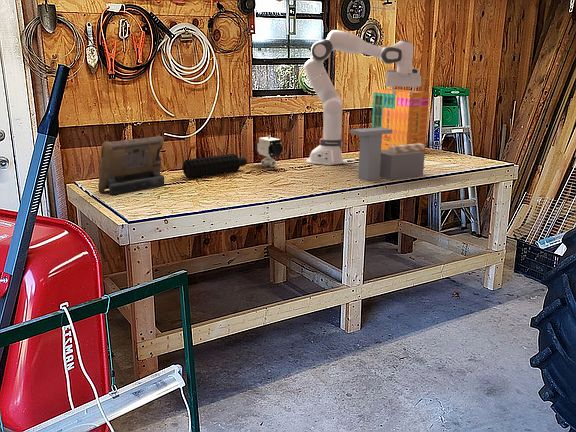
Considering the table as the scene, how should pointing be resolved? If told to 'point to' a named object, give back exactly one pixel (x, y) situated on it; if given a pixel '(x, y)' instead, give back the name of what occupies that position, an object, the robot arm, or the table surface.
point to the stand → (370, 151)
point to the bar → (406, 148)
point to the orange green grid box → (401, 116)
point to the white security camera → (269, 150)
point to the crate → (401, 164)
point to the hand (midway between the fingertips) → (402, 94)
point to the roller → (212, 165)
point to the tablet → (130, 165)
